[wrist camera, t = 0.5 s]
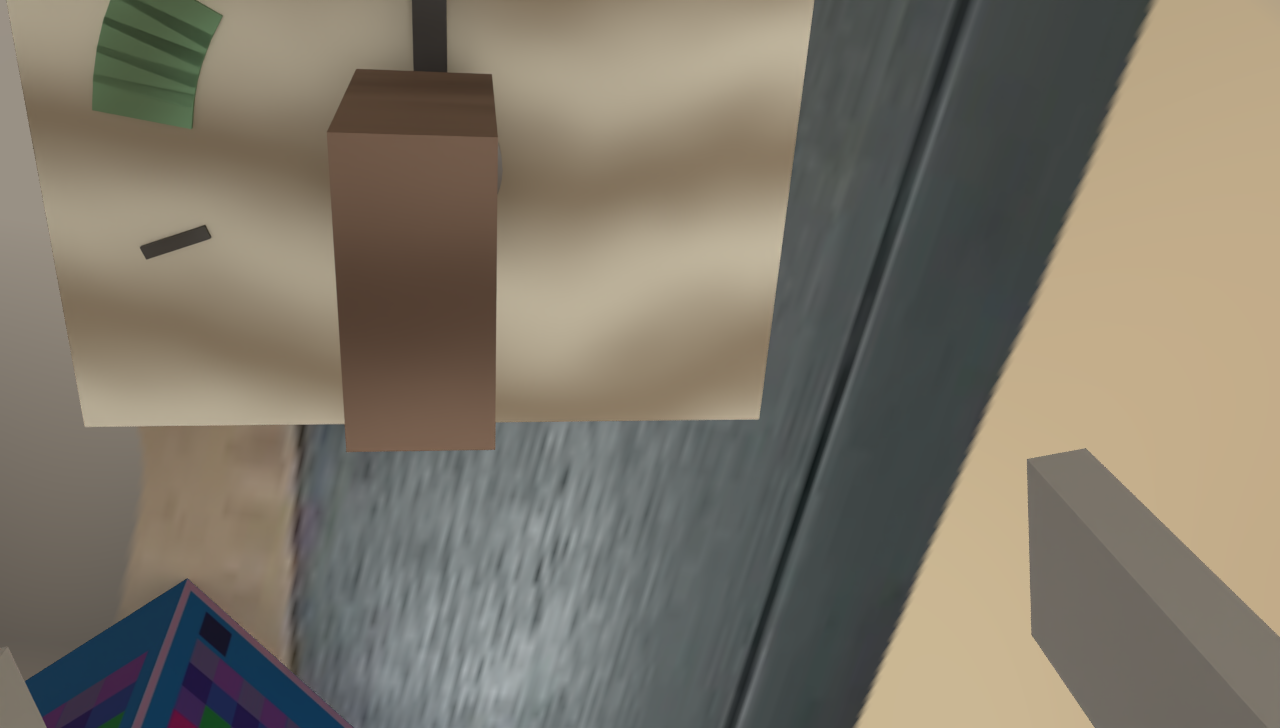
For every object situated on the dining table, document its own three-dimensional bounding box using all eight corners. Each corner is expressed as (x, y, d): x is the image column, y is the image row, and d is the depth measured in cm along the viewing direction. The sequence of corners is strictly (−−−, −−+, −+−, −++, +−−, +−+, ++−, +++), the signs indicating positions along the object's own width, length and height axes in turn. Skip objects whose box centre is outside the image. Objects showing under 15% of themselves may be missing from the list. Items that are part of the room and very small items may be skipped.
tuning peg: (346, -168, 27) (284, -164, 18) (505, -156, 28) (523, -148, 19) (367, 273, 33) (327, 452, 23) (500, 274, 33) (513, 449, 24)
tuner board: (-2, -216, 28) (-37, -219, 26) (813, -154, 31) (836, -153, 29) (103, 397, 36) (82, 429, 34) (745, 392, 39) (760, 421, 37)
